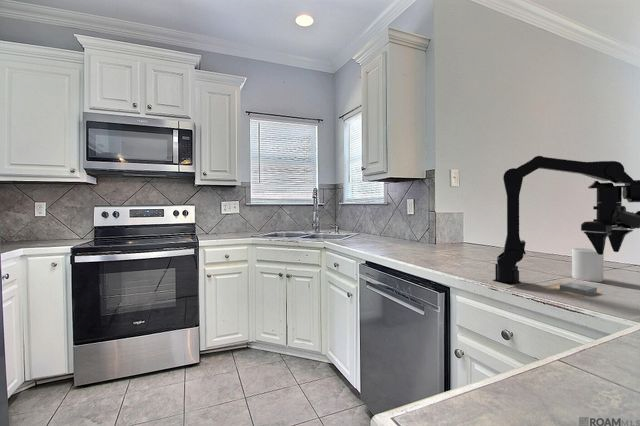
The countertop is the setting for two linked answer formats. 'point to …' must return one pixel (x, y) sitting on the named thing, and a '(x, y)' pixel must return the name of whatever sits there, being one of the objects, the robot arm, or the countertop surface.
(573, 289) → the slate tile
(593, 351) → the countertop surface
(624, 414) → the countertop surface
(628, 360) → the countertop surface
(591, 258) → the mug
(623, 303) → the countertop surface
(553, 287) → the cork mat
